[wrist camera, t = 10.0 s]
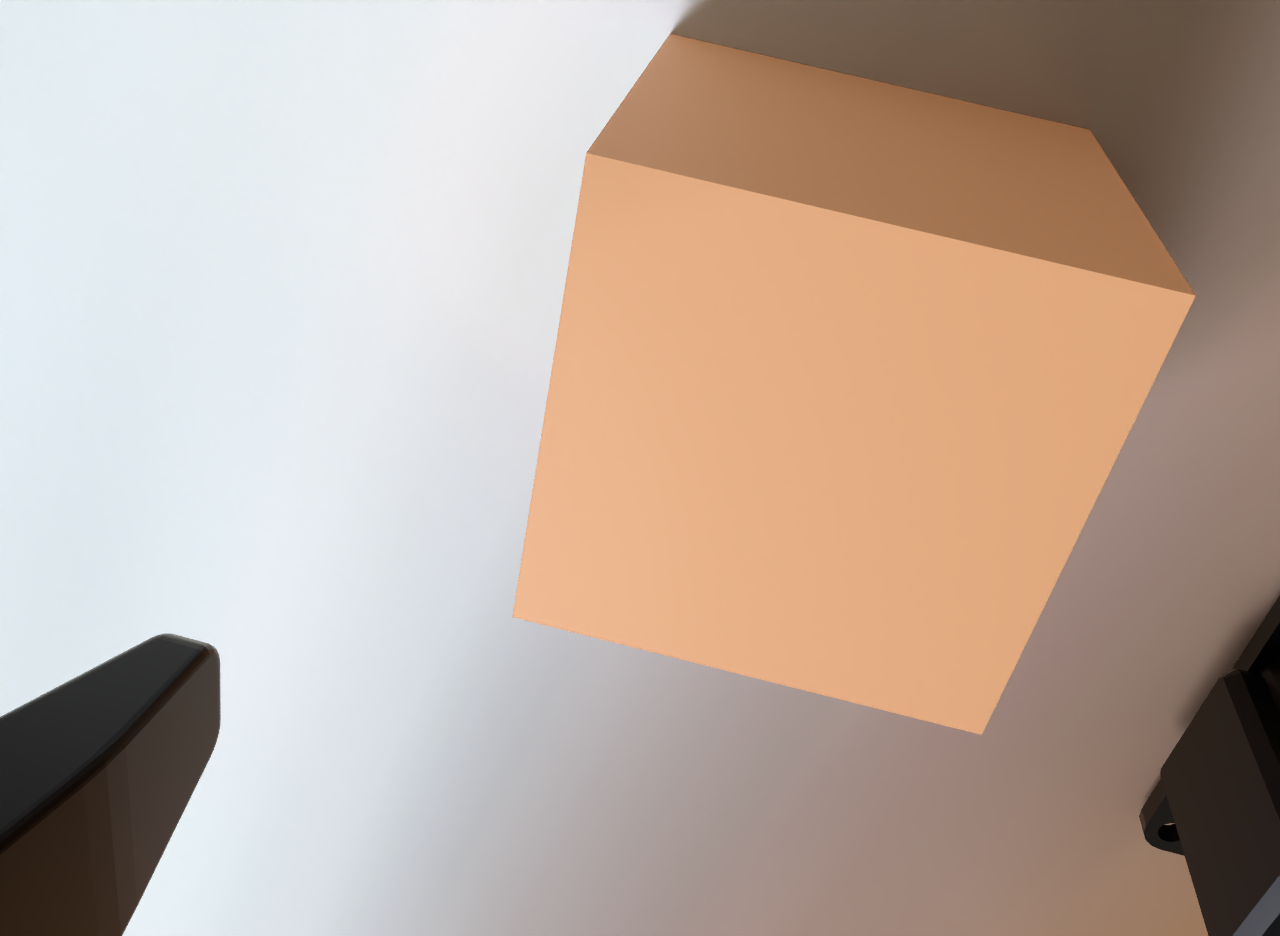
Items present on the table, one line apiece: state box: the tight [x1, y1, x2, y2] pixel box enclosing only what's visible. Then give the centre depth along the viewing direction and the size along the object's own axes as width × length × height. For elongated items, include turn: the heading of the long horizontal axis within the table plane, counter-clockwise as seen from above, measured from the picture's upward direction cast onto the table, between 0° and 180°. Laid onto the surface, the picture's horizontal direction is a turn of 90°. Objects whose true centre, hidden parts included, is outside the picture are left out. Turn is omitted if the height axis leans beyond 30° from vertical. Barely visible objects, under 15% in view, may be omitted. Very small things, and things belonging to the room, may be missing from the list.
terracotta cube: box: [513, 34, 1196, 735], centre depth 15 cm, size 6×6×6 cm
